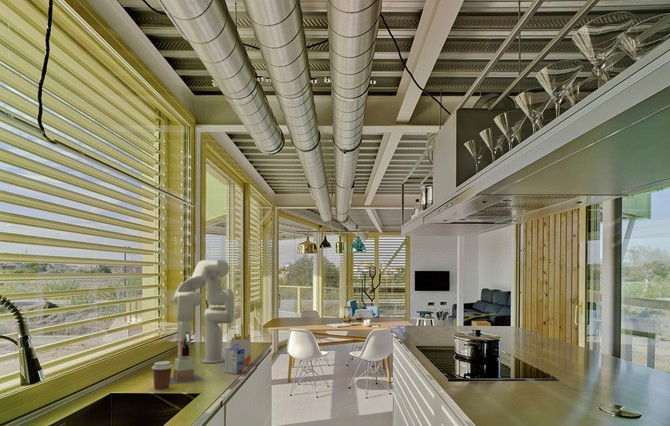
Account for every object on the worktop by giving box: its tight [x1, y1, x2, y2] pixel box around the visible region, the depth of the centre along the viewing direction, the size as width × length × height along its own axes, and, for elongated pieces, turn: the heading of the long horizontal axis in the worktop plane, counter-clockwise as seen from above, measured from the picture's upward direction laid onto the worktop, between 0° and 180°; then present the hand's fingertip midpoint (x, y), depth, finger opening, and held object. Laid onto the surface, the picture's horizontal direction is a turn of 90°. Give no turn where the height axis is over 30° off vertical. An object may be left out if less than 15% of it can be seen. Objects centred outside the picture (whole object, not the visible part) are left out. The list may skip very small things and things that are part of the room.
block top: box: [174, 357, 194, 371], centre depth 236 cm, size 7×7×5 cm
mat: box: [169, 373, 205, 386], centre depth 235 cm, size 16×16×1 cm
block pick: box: [177, 341, 192, 358], centre depth 237 cm, size 5×5×7 cm
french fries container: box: [230, 333, 252, 367], centre depth 270 cm, size 5×11×18 cm, turn 103°
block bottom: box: [173, 367, 195, 382], centre depth 235 cm, size 8×8×5 cm
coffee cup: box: [151, 360, 174, 391], centre depth 218 cm, size 9×9×12 cm
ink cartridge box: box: [224, 344, 245, 375], centre depth 252 cm, size 10×6×14 cm, turn 53°
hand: (184, 354), depth 237 cm, fingers closed on block pick, 5 cm apart
